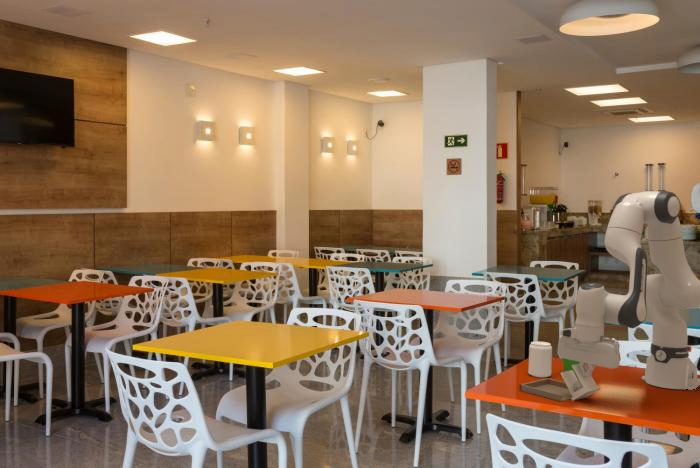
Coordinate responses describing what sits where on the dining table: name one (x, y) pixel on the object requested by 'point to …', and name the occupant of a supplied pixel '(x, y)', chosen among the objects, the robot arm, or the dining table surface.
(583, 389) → the u-shaped napkin holder
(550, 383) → the tray
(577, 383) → the ball
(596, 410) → the dining table surface
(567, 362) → the cup
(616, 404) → the dining table surface
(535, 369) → the beverage can
